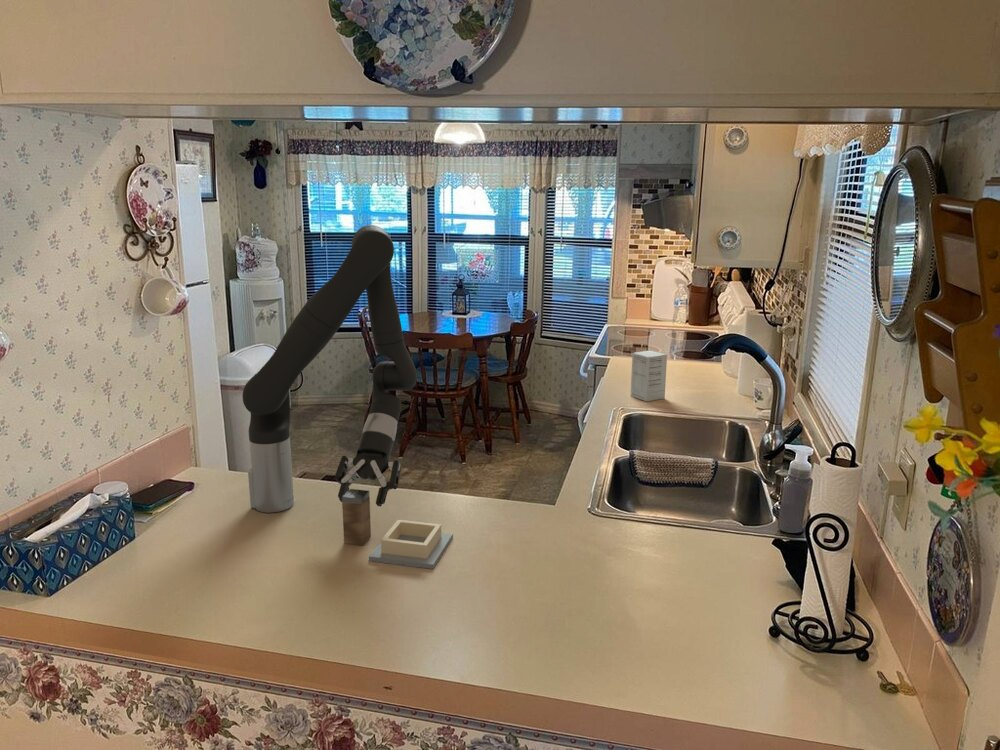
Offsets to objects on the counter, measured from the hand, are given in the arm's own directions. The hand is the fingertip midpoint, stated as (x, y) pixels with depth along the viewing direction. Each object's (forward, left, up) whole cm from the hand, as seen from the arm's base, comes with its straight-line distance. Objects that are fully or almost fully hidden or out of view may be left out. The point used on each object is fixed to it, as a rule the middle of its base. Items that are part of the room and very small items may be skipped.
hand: (360, 503), depth 160 cm
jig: (+13, -3, -8) cm, 15 cm away
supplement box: (+58, +131, -8) cm, 144 cm away
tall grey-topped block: (0, -2, -8) cm, 8 cm away
